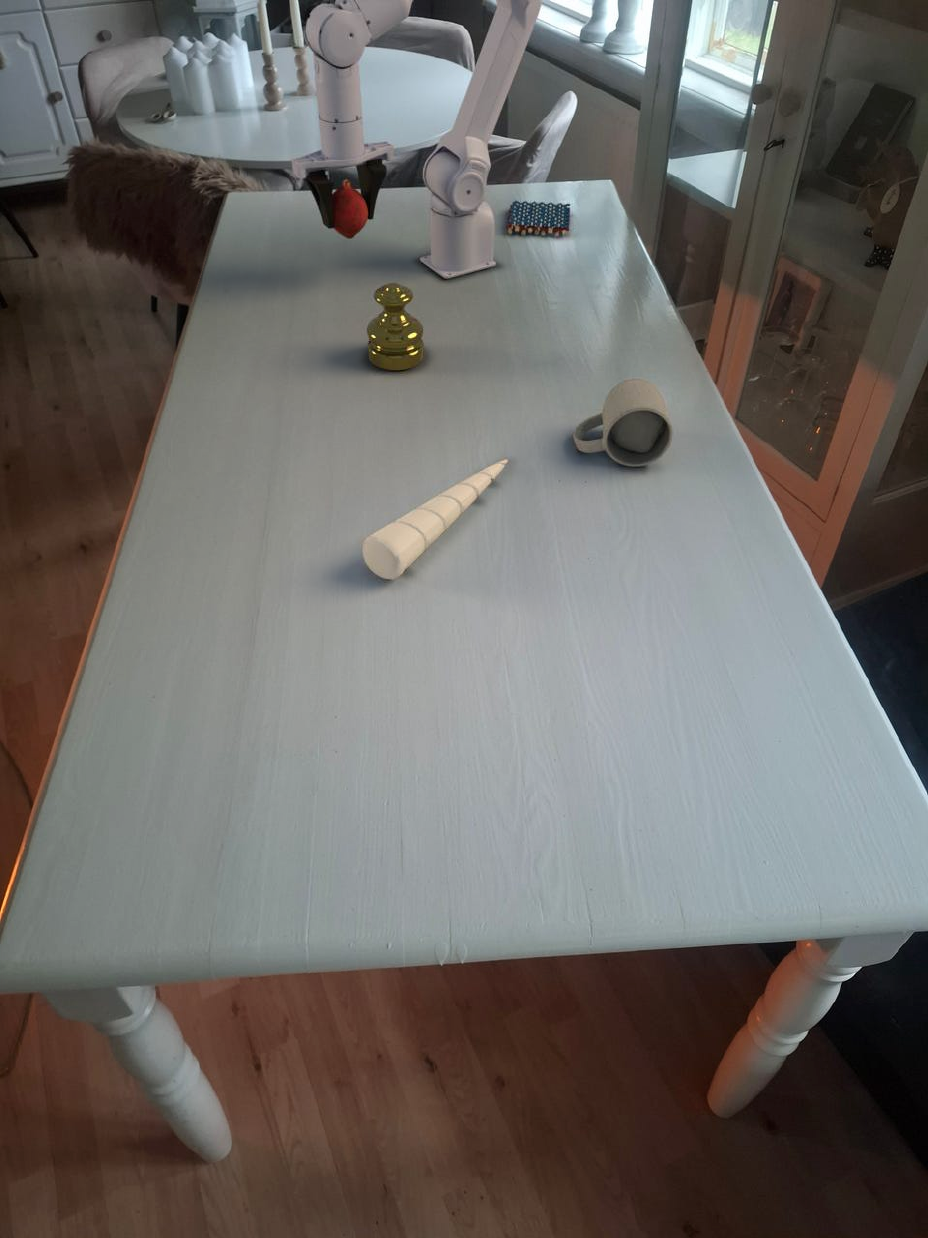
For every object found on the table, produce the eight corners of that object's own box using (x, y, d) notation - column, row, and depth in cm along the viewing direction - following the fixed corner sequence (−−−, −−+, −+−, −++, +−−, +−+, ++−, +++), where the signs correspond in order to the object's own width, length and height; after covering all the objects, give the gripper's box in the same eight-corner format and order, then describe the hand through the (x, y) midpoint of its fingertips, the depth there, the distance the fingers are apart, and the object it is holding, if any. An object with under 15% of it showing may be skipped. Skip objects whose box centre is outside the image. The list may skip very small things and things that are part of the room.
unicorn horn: (534, 476, 98) (537, 440, 95) (396, 590, 85) (394, 553, 82) (500, 460, 100) (502, 425, 97) (361, 569, 87) (357, 533, 84)
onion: (362, 248, 123) (358, 189, 117) (324, 244, 124) (318, 185, 118) (374, 232, 127) (370, 174, 121) (336, 228, 128) (331, 170, 122)
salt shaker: (410, 339, 119) (408, 268, 112) (432, 365, 115) (431, 292, 107) (360, 350, 117) (355, 278, 110) (380, 376, 112) (376, 303, 105)
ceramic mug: (657, 428, 105) (668, 371, 100) (666, 468, 99) (678, 410, 94) (570, 426, 105) (576, 370, 100) (574, 466, 100) (581, 409, 94)
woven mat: (509, 210, 151) (509, 198, 150) (569, 213, 151) (571, 201, 149) (505, 234, 144) (505, 222, 143) (568, 238, 143) (570, 225, 142)
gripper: (374, 99, 119) (379, 202, 129) (277, 116, 113) (290, 221, 123) (399, 113, 115) (403, 218, 125) (300, 131, 109) (312, 239, 119)
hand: (348, 221), depth 124 cm, fingers closed on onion, 6 cm apart
